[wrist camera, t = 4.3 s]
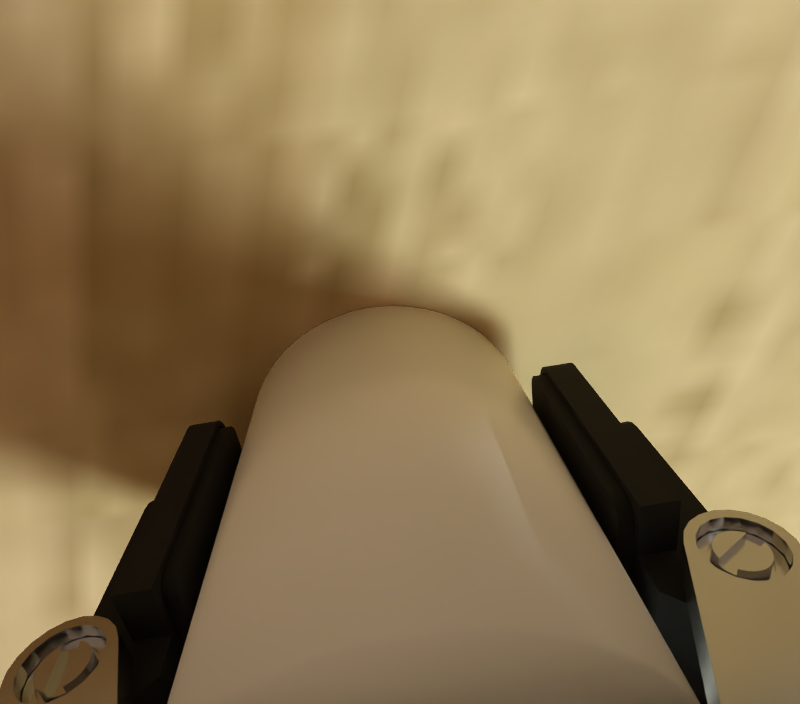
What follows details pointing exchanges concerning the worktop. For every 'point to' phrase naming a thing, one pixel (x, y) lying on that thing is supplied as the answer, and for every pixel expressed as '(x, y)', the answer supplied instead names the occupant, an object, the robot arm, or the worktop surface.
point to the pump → (412, 540)
